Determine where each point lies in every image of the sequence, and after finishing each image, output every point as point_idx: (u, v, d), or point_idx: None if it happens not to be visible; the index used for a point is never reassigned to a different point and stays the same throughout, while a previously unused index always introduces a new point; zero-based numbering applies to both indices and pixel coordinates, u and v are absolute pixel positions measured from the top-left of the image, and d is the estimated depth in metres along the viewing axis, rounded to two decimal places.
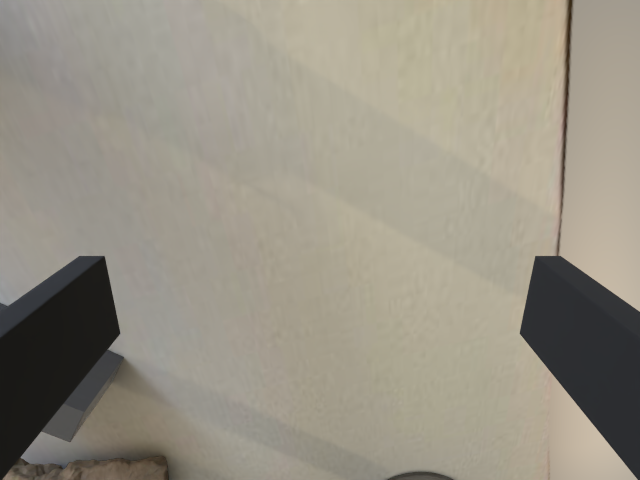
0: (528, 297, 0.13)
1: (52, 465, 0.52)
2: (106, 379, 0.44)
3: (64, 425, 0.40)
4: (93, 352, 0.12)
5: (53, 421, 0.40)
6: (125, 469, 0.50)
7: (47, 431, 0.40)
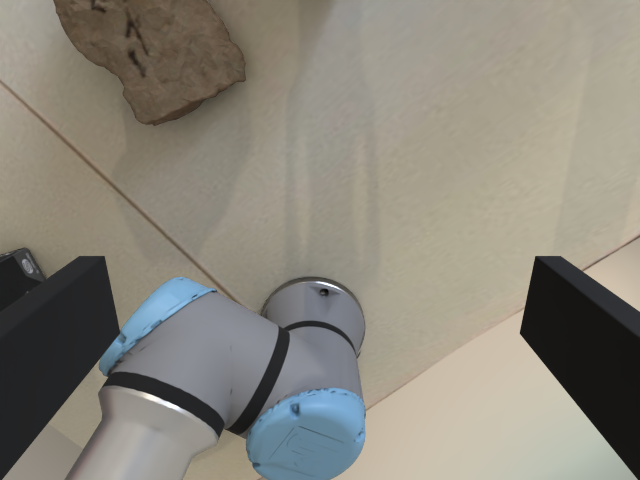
0: (528, 297, 0.13)
1: None
2: None
3: None
4: (94, 351, 0.12)
5: None
6: (223, 36, 0.44)
7: None
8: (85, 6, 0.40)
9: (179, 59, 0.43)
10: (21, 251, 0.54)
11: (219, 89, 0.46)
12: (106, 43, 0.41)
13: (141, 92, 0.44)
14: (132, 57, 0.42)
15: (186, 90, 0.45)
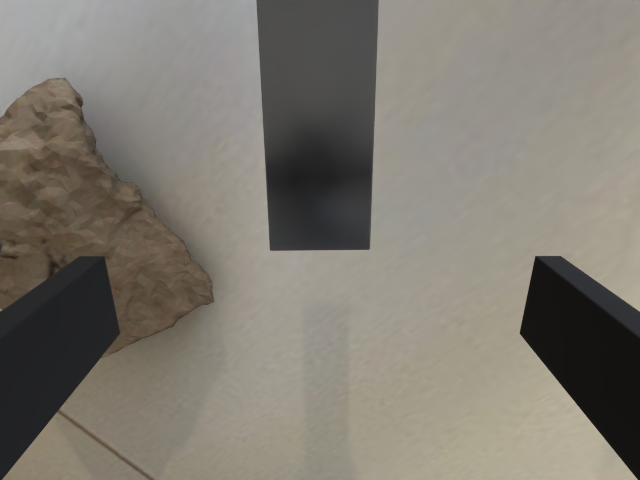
0: (528, 297, 0.13)
1: (102, 159, 0.32)
2: None
3: (312, 225, 0.18)
4: (93, 351, 0.12)
5: (311, 202, 0.17)
6: (182, 260, 0.34)
7: (274, 198, 0.17)
8: None
9: (122, 296, 0.33)
10: None
11: (179, 316, 0.36)
12: (21, 290, 0.31)
13: None
14: None
15: (134, 326, 0.35)
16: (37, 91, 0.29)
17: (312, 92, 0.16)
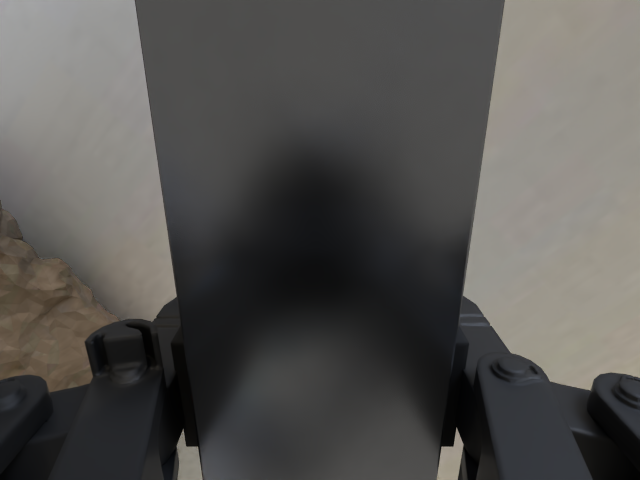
0: None
1: (15, 224, 0.23)
2: None
3: None
4: None
5: (300, 476, 0.08)
6: None
7: (215, 470, 0.08)
8: None
9: None
10: None
11: None
12: None
13: None
14: None
15: None
16: None
17: (303, 262, 0.06)
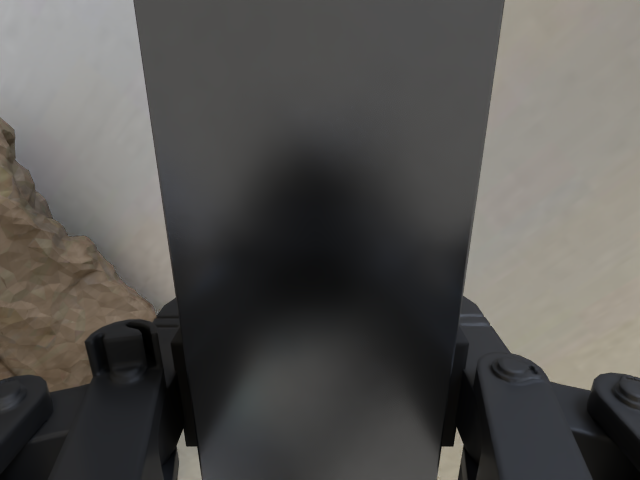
0: None
1: (46, 205, 0.25)
2: None
3: None
4: None
5: (300, 477, 0.08)
6: None
7: (215, 470, 0.07)
8: None
9: (72, 378, 0.26)
10: None
11: None
12: None
13: None
14: None
15: None
16: None
17: (302, 263, 0.06)
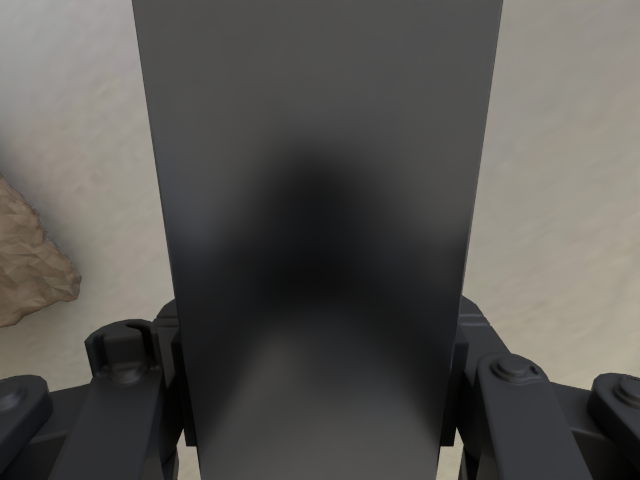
0: None
1: None
2: None
3: None
4: None
5: (298, 477, 0.08)
6: (30, 239, 0.25)
7: (214, 470, 0.07)
8: None
9: None
10: None
11: (26, 312, 0.27)
12: None
13: None
14: None
15: None
16: None
17: (301, 261, 0.06)
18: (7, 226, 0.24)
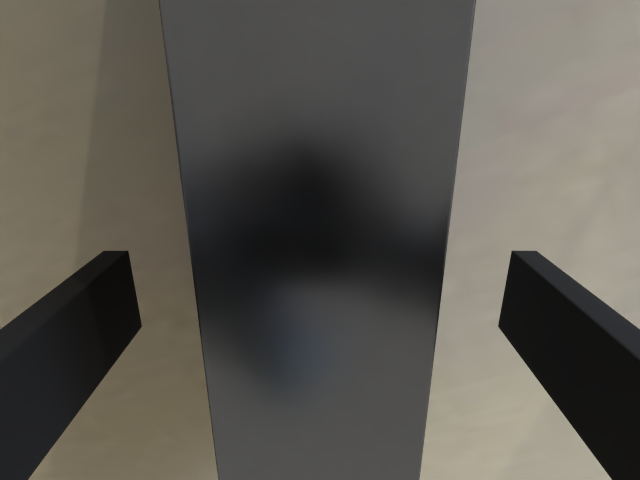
0: (506, 290, 0.13)
1: None
2: None
3: (303, 477, 0.09)
4: (119, 343, 0.12)
5: (301, 441, 0.08)
6: None
7: (226, 435, 0.08)
8: None
9: None
10: None
11: None
12: None
13: None
14: None
15: None
16: None
17: (303, 247, 0.07)
18: None
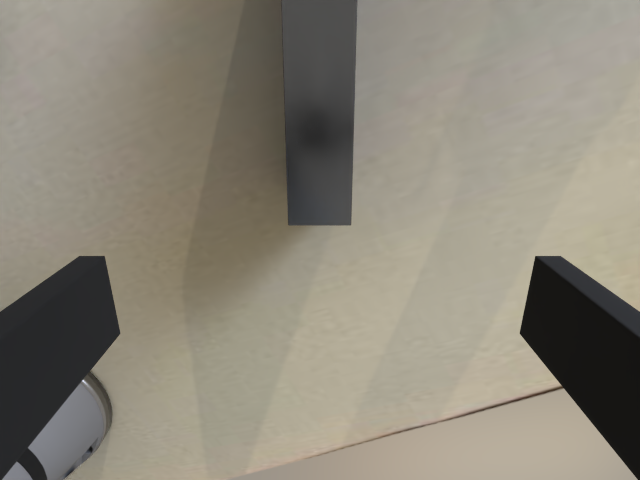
0: (528, 297, 0.13)
1: None
2: None
3: (314, 209, 0.28)
4: (93, 352, 0.12)
5: (314, 194, 0.28)
6: None
7: (291, 192, 0.28)
8: None
9: None
10: None
11: None
12: None
13: None
14: None
15: None
16: None
17: (315, 129, 0.26)
18: None
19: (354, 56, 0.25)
